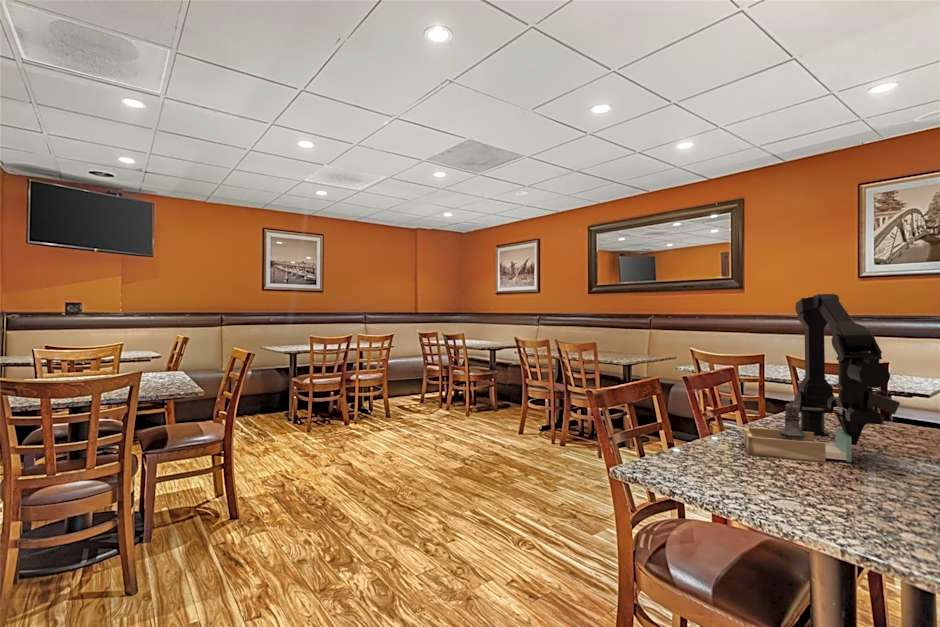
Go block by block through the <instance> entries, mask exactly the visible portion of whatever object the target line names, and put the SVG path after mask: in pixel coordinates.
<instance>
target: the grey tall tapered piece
mask: <svg viewBox="0 0 940 627" xmlns="http://www.w3.org/2000/svg"><path fill="white" fill-rule="evenodd" d="M793 402H794V399H791V400H790V402H788V403H786V404H785V406H784V407H785V415H784V416H783V418H784V427H783V428H782V429H778V430H779V433H780V436H781V438H782V439H784V440H796V441H803V440H804V438H805V435H806V433H804V432H802V431H801V430H800V427H801V426H800V420H801V416H800V412H799V407H798V405H797V404H794V403H793ZM799 416H800V417H799Z"/></svg>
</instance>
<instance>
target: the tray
mask: <svg viewBox="0 0 940 627" xmlns="http://www.w3.org/2000/svg"><path fill="white" fill-rule="evenodd" d="M834 430H835V431H834V438H835V439H834V441H835V442H833V443H832V442H822V441H821V442H820V441H819V442H820V443H825V444H826V459H829V460H830V459H831V460H841V461H845V462H846V463H852V460H853V459H852V456H853V454H852V450H853V449H852V448H853V447H852V446H853V445H852V437H851V436H849V435H848V434H847V433H845V432H844V430H843V428H840V427H835V428H834ZM772 439H775V438H772ZM808 442H811V441H808Z"/></svg>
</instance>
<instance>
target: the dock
mask: <svg viewBox="0 0 940 627" xmlns="http://www.w3.org/2000/svg"><path fill="white" fill-rule="evenodd" d="M742 430H743V431H742V433H743V438H742V439H743V440H742V441H743V442H742V443H743V445H744V447H745V450H746V451H747V454H748V456H755V457H756V456H757V457H767V458H778V459H787V460H788V459H789V460H795V461H796V460H797V461H808V462H818V463H826V462H827V461H826V459H827V458H826V444H825V443H826V442H823V443H820V441H815V434H814V432H804V431H802V432H804V433H806V435H805V438H804V440H803V441H796V440H784V439H782V438H781V436H780V433H779V430H780V429H776V428H775V429H774V428H764V427H763V428H761V427H751V426H750V427H749V426H743V428H742ZM772 438H775V439H772ZM808 441H811V442H808Z"/></svg>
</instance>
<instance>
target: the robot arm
mask: <svg viewBox="0 0 940 627" xmlns="http://www.w3.org/2000/svg"><path fill="white" fill-rule="evenodd" d="M794 307H795V312H796V314H797V319H798V321H799V323H800V324H801V325H802V326H803V328H804V329H803V330H804V377H803V378H802V380H801V381H800V383H799V384H798V390H797V392H796V395H795V397H794V399H793V401H794V402H793V403H794V404H797V405H798V407H799V413H800V418H801V419H800V426H799V427H800V430H801V431H804V432H814V435H819V436H829V435H830V434H829V433H828V432H827V431H826V429H825V427H826V426H825V424H826V423H825V421H826V420H825V419H826V418H825V414H831V415H832V414H833V411H834V410H835V409H834V408H837V410H838V411H837V412H834V416H835V417H836V419H837V421H838V422H839V424H840V427H841V429H842V430H843V431H844V432H845V433H847V434H848V435H849V436H851V437H852V446H857V445H858V442H859V440H860V437H861V435H862V432H863V429H864V427H865V426H866V425H868V424H870V425H884V424H885V422H884V421H885V420H884V418H885V417H884V415H883V414H882V413H881V412H880V411H878V410H876V409H879V410H882V411H885V412H888V414H892V415H896V413H897V411H898V409H899V407H900V405H901V402H900V401H897V400H895V399H893V398H889V397H888V395H887V392H886V391H882V390H879V388H882V387H884V386H886V385H887V384H889V381H890V379H891V373H890V371H889V369H888V368H887V367H886V365H884V364H882V363H880V360H882V359H883V356H882V354H883V350H881V348H880V346H879V343H878V342H877V341H876V338H875V336H874V334H872V332H871V331H870V330H869V329H868V328H866V327H865V326H864V325H862V324H859V323H856V322H855V321H854V320H853V318H852V317H851V316H850V315H849V313H848V311H847V310H846V309H845V308H844V306H843V305H842V303H841V302H840V297H839V295H838V294H836V293H818V294H815V295H813V296H810V297H801V298H800V299H799V300H797V301H796V302H795V306H794ZM827 325H828V327H829V328H830V329H831V332H832V333H833V334H832V337H831V345H832V347H833V348H832V349H833V350H834V351H835V353H836V354H837V357H836V358H835V359H836V361H838V362H837V363H838V368H837V369H838V372H837V373H838V374H837V375H838V379H837V380H838V382H836V383H835V388H837V392H838V396H835V395H834V393H833V392H834V387H833V386H832V385H831V384H830V383H829V382H828V380H827V379H826V369H825V368H826V367H825V365H826V363H825V362H826V360H825V359H826V358H825V357H826V356H825V352H826V351H825V328H826V327H827ZM874 389H876V390H874ZM875 408H876V409H875Z"/></svg>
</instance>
